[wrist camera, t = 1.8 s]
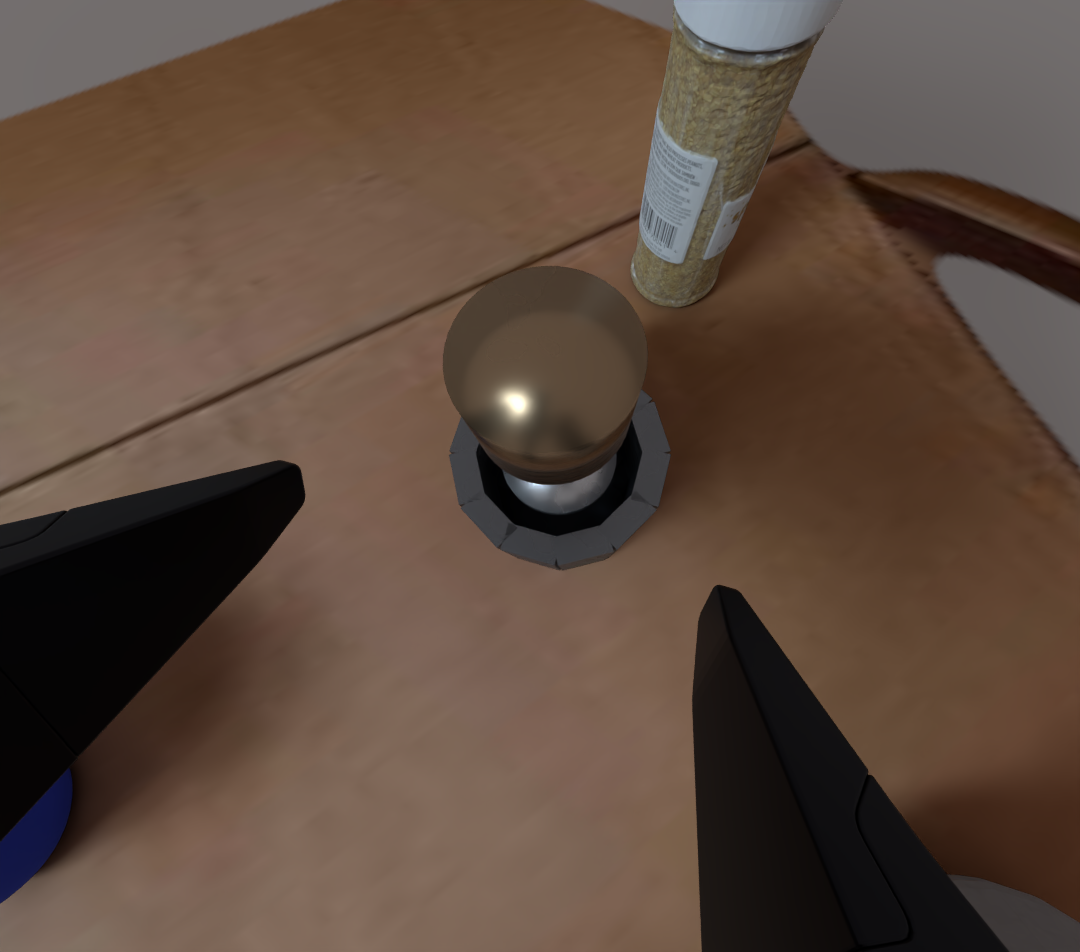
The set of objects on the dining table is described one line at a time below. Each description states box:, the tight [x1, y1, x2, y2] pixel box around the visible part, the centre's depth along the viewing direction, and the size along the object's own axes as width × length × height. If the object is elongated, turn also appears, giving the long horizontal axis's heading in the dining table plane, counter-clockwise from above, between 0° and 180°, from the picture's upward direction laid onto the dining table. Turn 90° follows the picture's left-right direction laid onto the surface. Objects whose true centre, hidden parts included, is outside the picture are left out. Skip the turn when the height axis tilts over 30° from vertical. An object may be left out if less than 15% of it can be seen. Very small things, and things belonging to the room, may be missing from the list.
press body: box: [449, 389, 671, 570], centre depth 19 cm, size 10×8×5 cm
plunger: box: [443, 266, 648, 516], centre depth 14 cm, size 4×4×8 cm
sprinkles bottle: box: [631, 0, 843, 307], centre depth 17 cm, size 5×5×14 cm
